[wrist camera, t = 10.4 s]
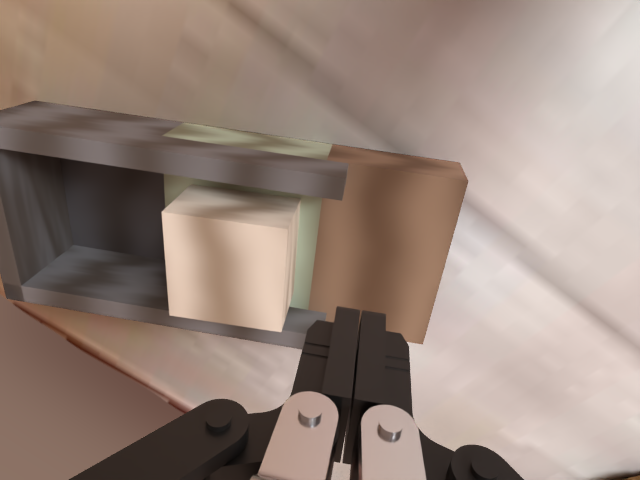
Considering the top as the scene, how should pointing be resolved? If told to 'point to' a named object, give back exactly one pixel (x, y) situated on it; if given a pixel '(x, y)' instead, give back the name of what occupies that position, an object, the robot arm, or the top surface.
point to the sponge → (633, 478)
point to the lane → (221, 172)
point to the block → (231, 256)
